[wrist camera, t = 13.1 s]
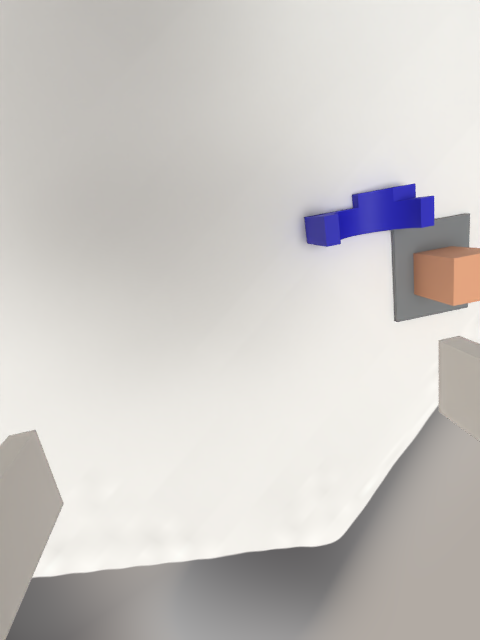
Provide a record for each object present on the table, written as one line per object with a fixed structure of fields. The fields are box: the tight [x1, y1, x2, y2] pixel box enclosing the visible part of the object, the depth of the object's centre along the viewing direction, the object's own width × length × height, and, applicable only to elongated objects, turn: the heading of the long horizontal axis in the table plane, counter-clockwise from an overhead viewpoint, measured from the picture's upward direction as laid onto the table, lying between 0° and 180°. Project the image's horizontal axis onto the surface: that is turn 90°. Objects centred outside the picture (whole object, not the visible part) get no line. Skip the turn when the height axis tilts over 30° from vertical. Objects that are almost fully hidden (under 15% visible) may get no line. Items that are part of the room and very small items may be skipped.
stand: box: [391, 214, 470, 322], centre depth 42 cm, size 12×10×6 cm
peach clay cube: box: [413, 246, 480, 306], centre depth 41 cm, size 5×5×7 cm
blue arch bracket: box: [304, 184, 434, 247], centre depth 39 cm, size 12×4×6 cm, turn 100°
